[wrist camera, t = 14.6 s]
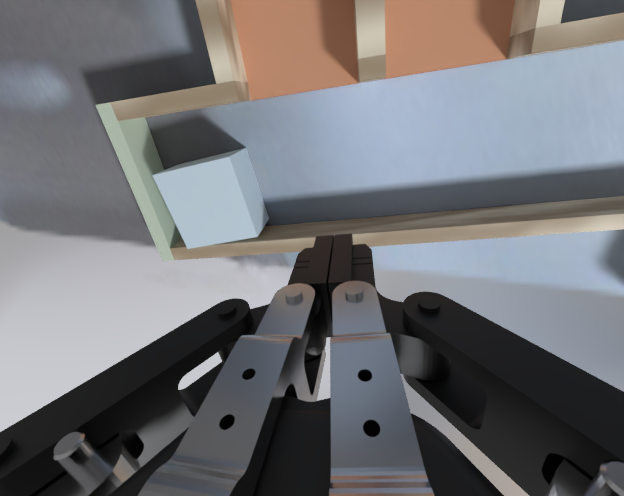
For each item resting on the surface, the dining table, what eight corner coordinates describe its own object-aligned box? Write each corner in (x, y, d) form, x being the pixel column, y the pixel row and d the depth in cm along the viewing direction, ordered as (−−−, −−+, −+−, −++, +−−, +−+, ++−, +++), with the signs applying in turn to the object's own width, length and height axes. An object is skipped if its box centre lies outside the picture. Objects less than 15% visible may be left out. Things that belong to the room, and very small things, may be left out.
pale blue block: (179, 163, 32) (152, 175, 27) (246, 147, 30) (229, 156, 26) (207, 229, 35) (187, 249, 31) (269, 218, 34) (257, 236, 29)
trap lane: (75, -27, 25) (30, -47, 21) (828, -228, 16) (958, -314, 13) (180, 244, 36) (162, 260, 33) (650, 208, 28) (692, 224, 25)
